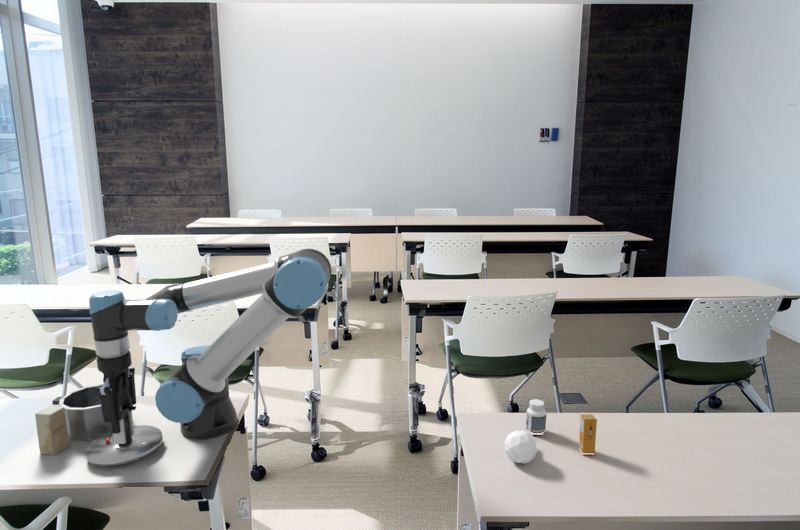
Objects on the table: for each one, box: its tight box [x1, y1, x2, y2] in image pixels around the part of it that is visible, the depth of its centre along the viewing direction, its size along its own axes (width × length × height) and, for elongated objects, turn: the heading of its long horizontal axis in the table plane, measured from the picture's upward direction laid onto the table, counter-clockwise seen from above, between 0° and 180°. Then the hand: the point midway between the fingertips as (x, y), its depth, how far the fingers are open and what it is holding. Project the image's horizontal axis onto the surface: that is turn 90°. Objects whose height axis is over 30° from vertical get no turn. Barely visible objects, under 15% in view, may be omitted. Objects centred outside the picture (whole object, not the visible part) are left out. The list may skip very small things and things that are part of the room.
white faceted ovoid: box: [503, 429, 538, 464], centre depth 133 cm, size 8×8×12 cm
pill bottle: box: [525, 398, 547, 433], centre depth 145 cm, size 5×5×9 cm
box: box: [34, 405, 70, 456], centre depth 136 cm, size 5×4×11 cm
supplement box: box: [578, 413, 598, 454], centre depth 135 cm, size 3×3×10 cm
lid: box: [85, 407, 164, 467], centre depth 135 cm, size 18×18×10 cm
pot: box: [51, 383, 132, 441], centre depth 148 cm, size 22×16×9 cm
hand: (124, 438), depth 135 cm, fingers closed on lid, 3 cm apart
